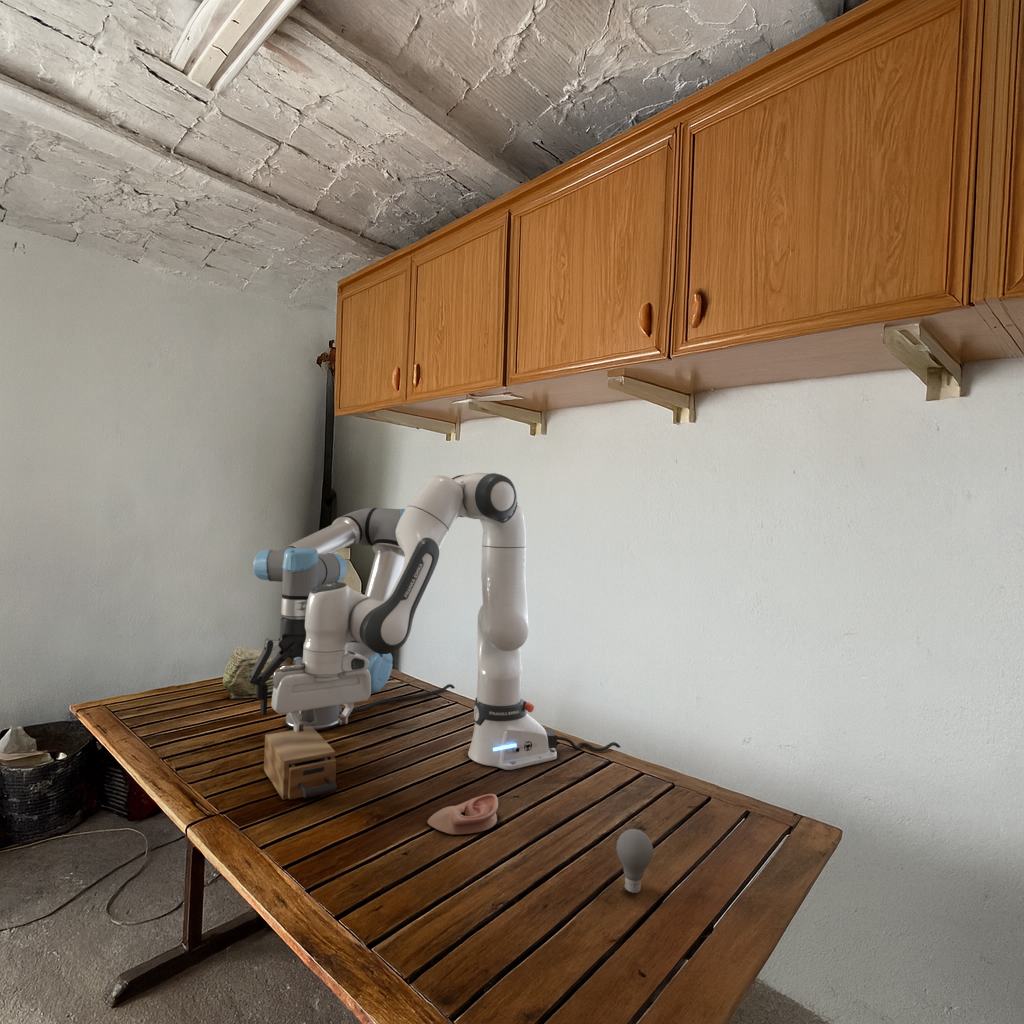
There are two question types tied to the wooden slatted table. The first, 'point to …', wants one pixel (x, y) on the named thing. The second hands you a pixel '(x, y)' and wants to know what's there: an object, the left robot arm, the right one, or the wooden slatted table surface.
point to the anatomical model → (467, 816)
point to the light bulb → (634, 857)
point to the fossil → (244, 673)
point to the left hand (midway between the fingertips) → (294, 709)
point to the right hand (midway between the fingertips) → (321, 727)
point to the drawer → (312, 778)
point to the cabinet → (292, 754)
